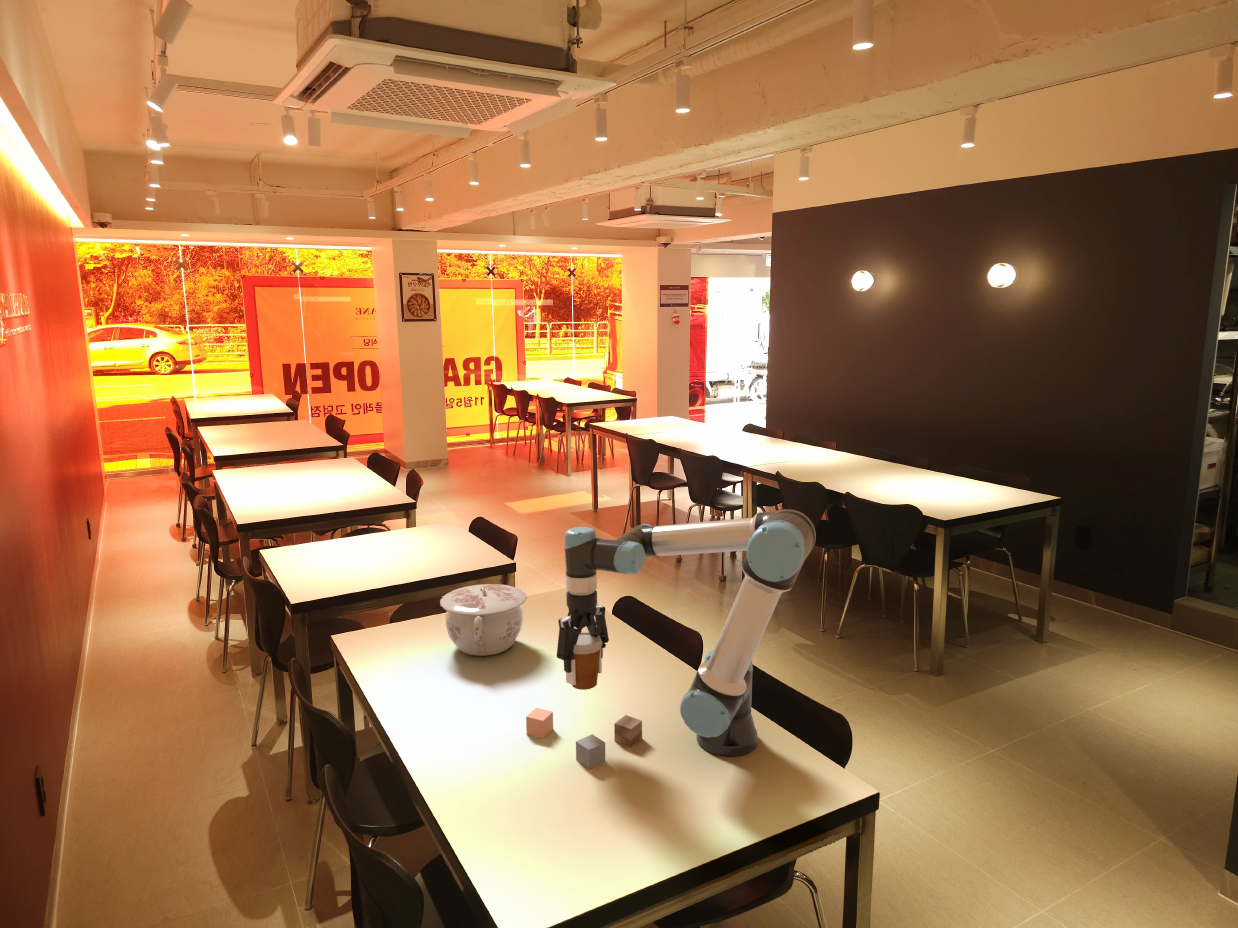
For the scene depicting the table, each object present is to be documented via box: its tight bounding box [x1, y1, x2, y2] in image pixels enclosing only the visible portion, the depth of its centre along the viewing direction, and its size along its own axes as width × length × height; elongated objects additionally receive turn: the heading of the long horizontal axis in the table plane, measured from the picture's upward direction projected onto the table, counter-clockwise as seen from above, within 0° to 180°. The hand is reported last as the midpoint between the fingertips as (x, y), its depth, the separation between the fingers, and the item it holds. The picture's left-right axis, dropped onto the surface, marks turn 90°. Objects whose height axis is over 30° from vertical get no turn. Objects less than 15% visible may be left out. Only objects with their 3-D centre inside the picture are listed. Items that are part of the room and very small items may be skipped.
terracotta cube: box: [525, 707, 554, 739], centre depth 198 cm, size 5×5×5 cm
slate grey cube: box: [575, 734, 606, 770], centre depth 185 cm, size 5×5×5 cm
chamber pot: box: [439, 583, 528, 657], centre depth 248 cm, size 28×28×21 cm
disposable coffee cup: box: [571, 631, 603, 691], centre depth 192 cm, size 10×10×12 cm
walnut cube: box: [613, 714, 643, 748], centre depth 194 cm, size 5×5×5 cm
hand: (584, 677), depth 193 cm, fingers closed on disposable coffee cup, 8 cm apart
